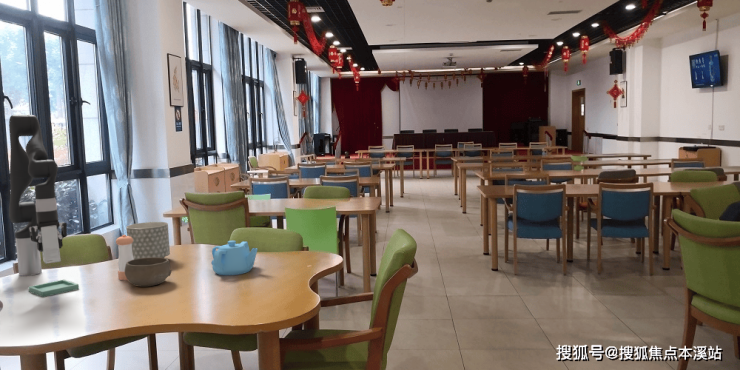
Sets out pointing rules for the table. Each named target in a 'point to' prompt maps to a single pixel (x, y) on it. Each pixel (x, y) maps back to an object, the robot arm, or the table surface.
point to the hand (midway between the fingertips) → (50, 249)
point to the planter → (149, 239)
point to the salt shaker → (124, 254)
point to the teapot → (233, 258)
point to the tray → (53, 288)
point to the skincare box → (50, 244)
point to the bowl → (147, 271)
